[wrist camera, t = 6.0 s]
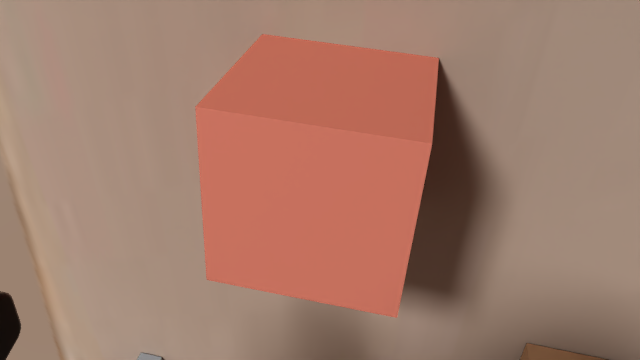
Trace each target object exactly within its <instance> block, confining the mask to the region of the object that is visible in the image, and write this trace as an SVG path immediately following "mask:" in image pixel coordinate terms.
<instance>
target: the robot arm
mask: <svg viewBox="0 0 640 360" xmlns="http://www.w3.org/2000/svg"><path fill="white" fill-rule="evenodd" d="M20 330H21V323H20V319H19V316H18V314H17V311H16V308H15V305H14V302H13V299H12V297H11V295H9V294H8V293H5V292H1V291H0V360H6V358H7V356H8V355H9V353H10V351H11V349H12V347H13V346H14V344H15V342H16V340H17V339H18V336H19V333H20Z"/></svg>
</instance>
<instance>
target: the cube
mask: <svg viewBox="0 0 640 360" xmlns="http://www.w3.org/2000/svg"><path fill="white" fill-rule="evenodd" d="M438 64H439V58H435V57H427V56H420V55H413V54H405V53H398V52H390V51H383V50H376V49H368V48H361V47H353V46H346V45H339V44H331V43H324V42H317V41H309V40H302V39H294V38H287V37H280V36H272V35H265V34H262V35H261V36H260V37H259V39H258V40H257V41H256V42H255V43H254V44H253V45H252V46H251V47H250V48H249V49H248V50H247V52H246V53H245V54H244V55H243V56H242V57H241V58H240V59H239V60H238V61H237V62H236V63H235V65H234V66H233V67H232V68H231V69H230V70H229V71H228V72H227V73H226V74H225V75H224V76H223V78H222V79H221V80H220V81H219V82H218V83H217V84H216V85H215V86H214V87H213V88H212V89H211V91H210V92H209V93H208V94H207V95H206V96H205V97H204V98H203V99H202V100H201V101H200V102H199V104H198V105H197V106H196V123H197V138H198V154H199V169H200V184H201V200H202V215H203V230H204V246H205V261H206V277H207V280H210V281H215V282H221V283H226V284H231V285H236V286H241V287H246V288H251V289H256V290H261V291H266V292H271V293H276V294H281V295H286V296H291V297H296V298H301V299H306V300H311V301H316V302H321V303H326V304H331V305H336V306H341V307H346V308H351V309H356V310H361V311H366V312H371V313H376V314H381V315H386V316H391V317H396V318H397V315H398V310H399V305H400V300H401V296H402V291H403V286H404V281H405V276H406V271H407V266H408V261H409V256H410V251H411V246H412V241H413V236H414V231H415V226H416V222H417V217H418V212H419V207H420V202H421V197H422V192H423V187H424V182H425V177H426V172H427V167H428V162H429V157H430V152H431V147H432V141H433V128H434V115H435V102H436V89H437V77H438Z"/></svg>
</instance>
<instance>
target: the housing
mask: <svg viewBox="0 0 640 360" xmlns="http://www.w3.org/2000/svg"><path fill="white" fill-rule="evenodd" d="M520 360H607V359H602V358H597V357H592V356H587V355H582V354H578V353H573V352H568V351H563V350H558V349H553V348H548V347H543V346H538V345H533V344H529V343H527V344H526V346H525V349H524V351H523V353H522V356H521V358H520Z"/></svg>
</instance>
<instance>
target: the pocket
mask: <svg viewBox="0 0 640 360" xmlns="http://www.w3.org/2000/svg"><path fill="white" fill-rule="evenodd" d="M137 360H162V357H158V356H154V355H149V354H145V353H141V354H140V355H139V357H138V359H137Z"/></svg>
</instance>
